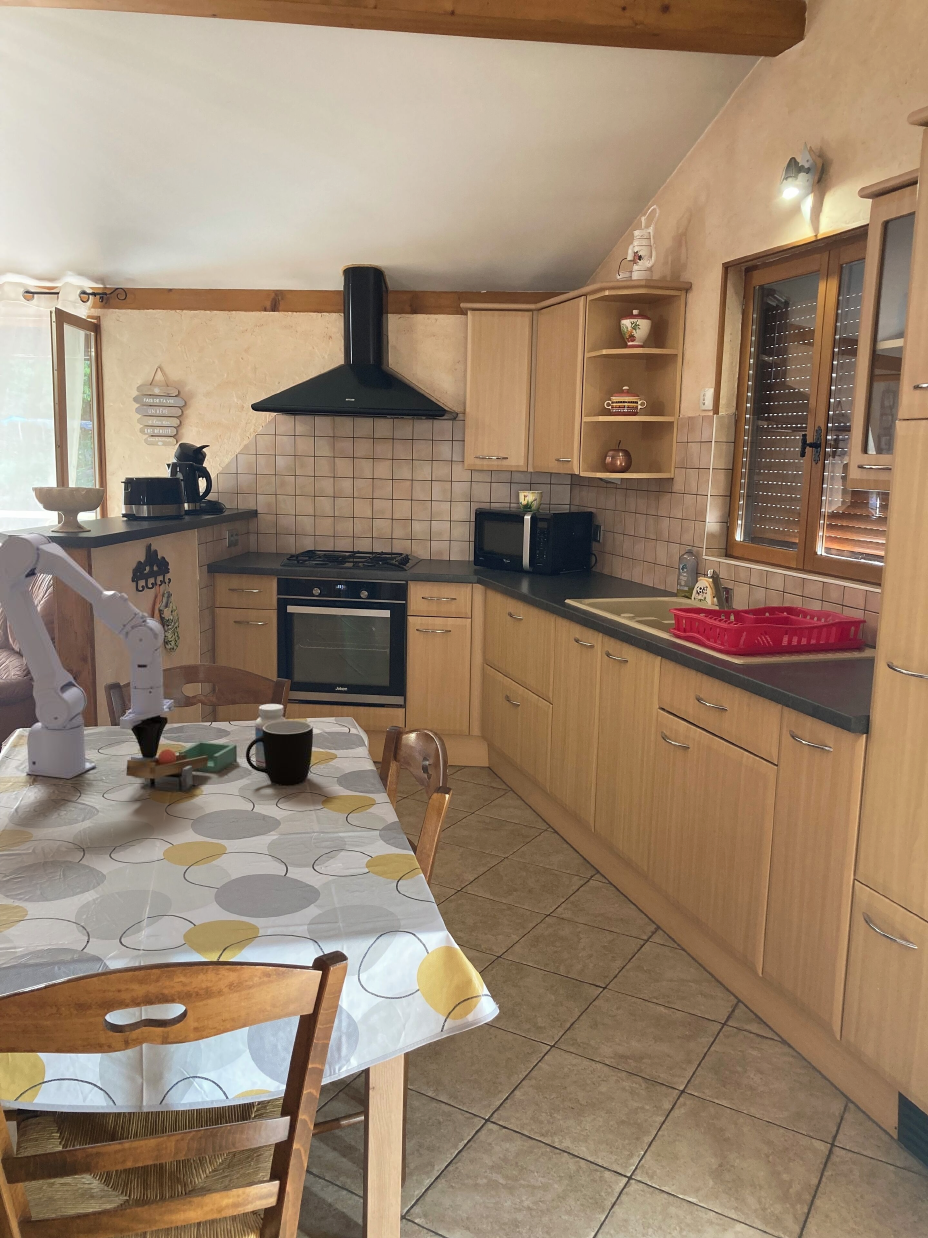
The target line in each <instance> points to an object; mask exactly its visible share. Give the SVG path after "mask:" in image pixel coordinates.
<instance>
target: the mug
mask: <svg viewBox="0 0 928 1238" xmlns="http://www.w3.org/2000/svg"><path fill="white" fill-rule="evenodd" d="M313 741H314V727H313V725H312V724H311V723H309V722H307V721H303V720H294V719H293V720H291V719H290V720H287V719H286V721H276V722H272V723H268V724H266V725H265V726H264V727H263V734H262V736H260V737H258V738H256V739H255V738H254V739H253V740H252V741H250V743H248V746H247V748H246V751H245V759H246V762H247V764H248V766H249V767H250V768H251V769H252V770H254V771H256V772H259V773H264V774H266V775H267V777H268V779H269V781H270V782H271V783H272V784H273V785H276V786H282V787H283V786H284V787H291V786H297V785H300V784H303V783H304V782H306V781H307V779H308V777H309V772H310V769H311V762H312V756H313V754H312V753H313V743H314V742H313ZM258 742H262V743H263V748H264V757H265V767H263V766H262V767H261V766H258V765H255V764H254V763H253V762H252V761H251V755H250V754H251V750H252V749H253V747H255V744H256V743H258Z"/></svg>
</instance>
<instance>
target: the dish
mask: <svg viewBox="0 0 928 1238" xmlns="http://www.w3.org/2000/svg"><path fill="white" fill-rule="evenodd" d="M237 749H238V747H237V744H231V743H230V744H229V743H220V742H211V741H210V742H209V741H201V740H199V741H197V742H196V743H193V744H191V745H190V746H188V747H185V748H184V749H181V750H180V751H178V755H180V754H187V759H193V758H197V757H202V756H208V765H207V766H205V767H200V768H196V769H192V771H201V772H207V773H208V772H209V773H219V772H221V771H222V770H224V769H226V768H228V767H230V766H231V765H233V764H234V763H236V762H237V761H238V756H237V755H238V754H237V753H238V751H237Z"/></svg>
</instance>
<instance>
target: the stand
mask: <svg viewBox="0 0 928 1238" xmlns="http://www.w3.org/2000/svg"><path fill="white" fill-rule="evenodd" d="M198 787H199V784H195V783H194V782H193V770H192V766H187V767H185V768H183V769H182V775H174V774H170V775H166V776H162V777H157V778H153V779H152V778H145V784H142V785H140V789H145V790H154V791H160V792H162V791H163V792H171V793H178V794H179V793H180V794H188V793H189V792H191V791H193V790H194V789H196V788H198Z"/></svg>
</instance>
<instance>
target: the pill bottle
mask: <svg viewBox="0 0 928 1238" xmlns="http://www.w3.org/2000/svg"><path fill="white" fill-rule="evenodd" d="M258 715H259V717H257V719H256V720H255V724H254V726H255V730H254V731H255V732H254V736H255V737H254V740H255V739H256V738H258V737H260V736H262V734H263V727H264V726H265V725H266V724H268V723H272V722H276V721H286V720H287V719H286V718H285V717H284V716H283V715H284V705H282V704H279V703H278V704H277V703H266V704H262V705H260V706H259V707H258ZM254 748H255V756H254V757H255V764H256V766H258V767H262V768H263V767H265V757H264V748H263V743H262V742H258V743H256V744H255V745H254Z"/></svg>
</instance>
